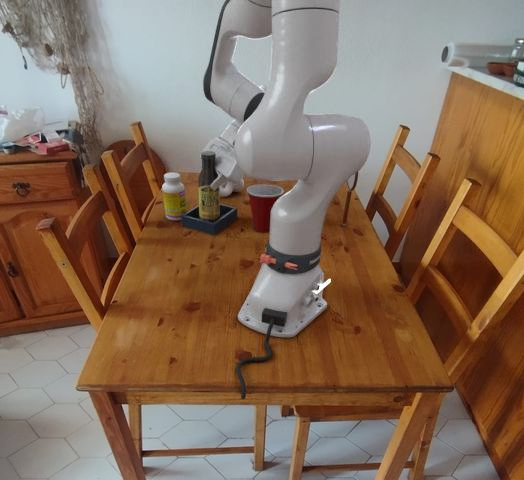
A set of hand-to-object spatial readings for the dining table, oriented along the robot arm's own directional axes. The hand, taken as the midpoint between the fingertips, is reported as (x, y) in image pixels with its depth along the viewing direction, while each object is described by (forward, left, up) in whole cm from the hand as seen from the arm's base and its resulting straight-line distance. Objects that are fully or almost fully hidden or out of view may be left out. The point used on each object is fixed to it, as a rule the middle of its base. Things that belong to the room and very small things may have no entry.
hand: (206, 183), depth 120 cm
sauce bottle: (+1, 0, -12) cm, 12 cm away
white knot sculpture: (+23, +8, -12) cm, 27 cm away
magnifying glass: (+20, -37, -12) cm, 44 cm away
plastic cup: (+6, -16, -12) cm, 21 cm away
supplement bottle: (-2, +11, -12) cm, 16 cm away
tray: (+1, 0, -12) cm, 12 cm away
